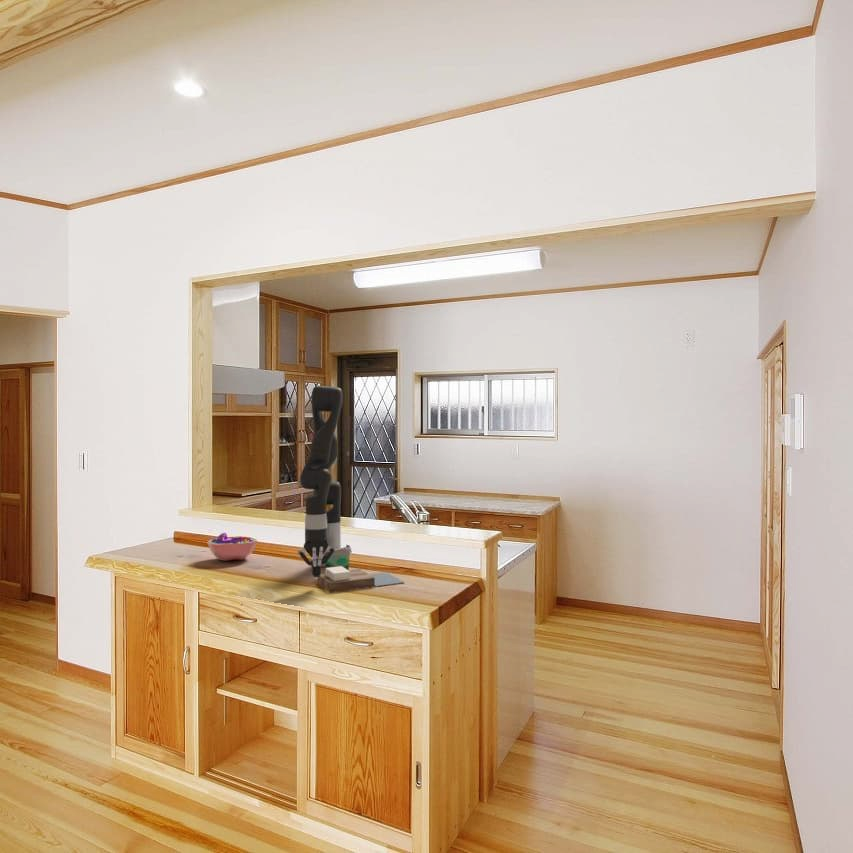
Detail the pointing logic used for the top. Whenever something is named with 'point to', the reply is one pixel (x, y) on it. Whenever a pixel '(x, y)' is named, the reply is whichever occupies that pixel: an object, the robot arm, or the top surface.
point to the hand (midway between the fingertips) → (316, 576)
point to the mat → (385, 579)
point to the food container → (339, 558)
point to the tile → (337, 573)
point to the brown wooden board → (347, 581)
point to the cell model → (231, 547)
